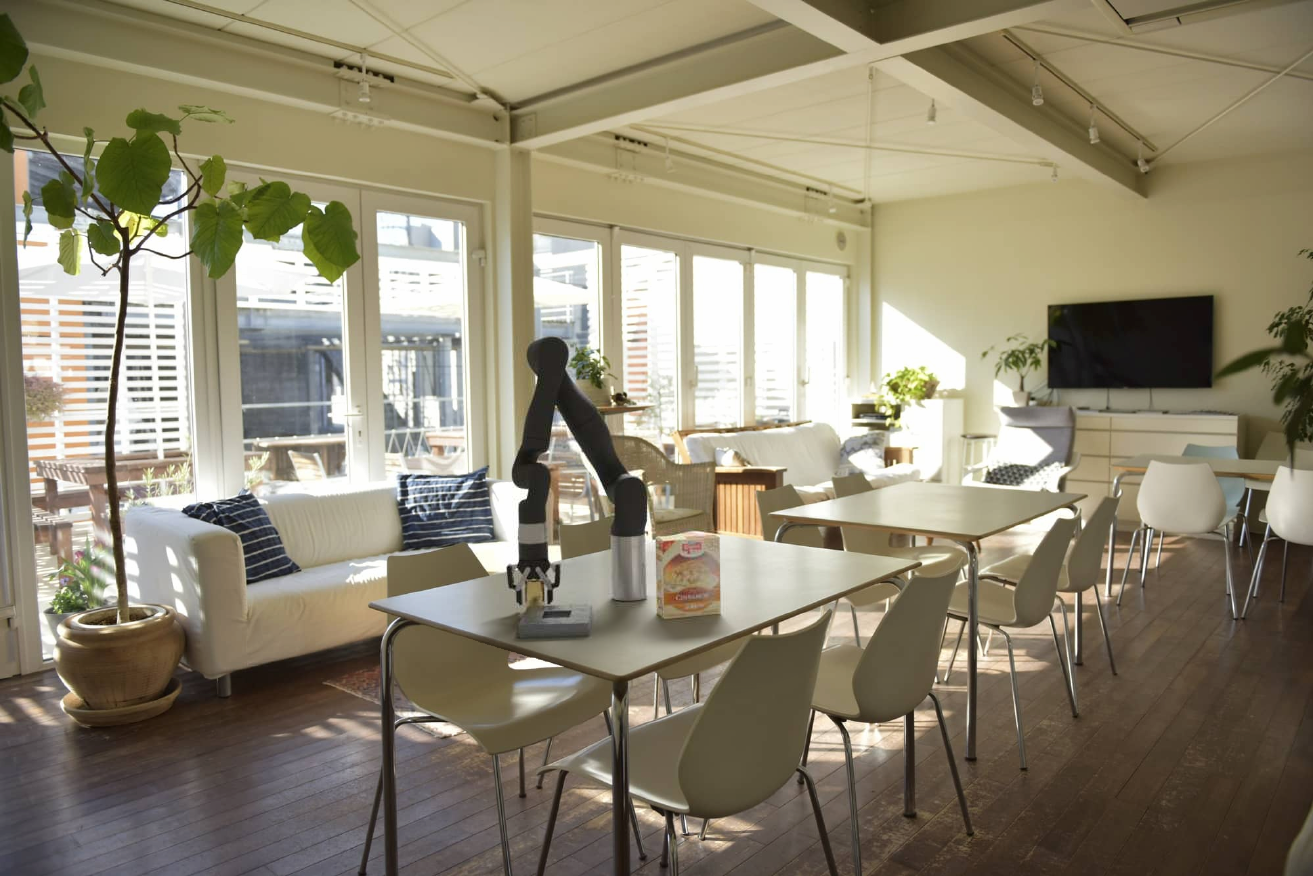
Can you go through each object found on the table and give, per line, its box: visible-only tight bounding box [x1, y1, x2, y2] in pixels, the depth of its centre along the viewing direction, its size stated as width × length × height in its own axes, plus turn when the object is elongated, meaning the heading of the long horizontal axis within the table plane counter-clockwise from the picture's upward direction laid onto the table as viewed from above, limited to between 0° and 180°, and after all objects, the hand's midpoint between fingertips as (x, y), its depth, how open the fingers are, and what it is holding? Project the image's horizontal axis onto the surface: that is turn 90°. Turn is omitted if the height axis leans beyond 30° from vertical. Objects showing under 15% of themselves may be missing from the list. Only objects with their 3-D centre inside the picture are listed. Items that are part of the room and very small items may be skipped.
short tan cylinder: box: [524, 579, 546, 610], centre depth 236 cm, size 5×5×8 cm
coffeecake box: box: [654, 532, 722, 620], centre depth 230 cm, size 15×7×20 cm, turn 106°
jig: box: [517, 603, 594, 639], centre depth 220 cm, size 16×18×3 cm
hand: (534, 604), depth 236 cm, fingers open, 6 cm apart
